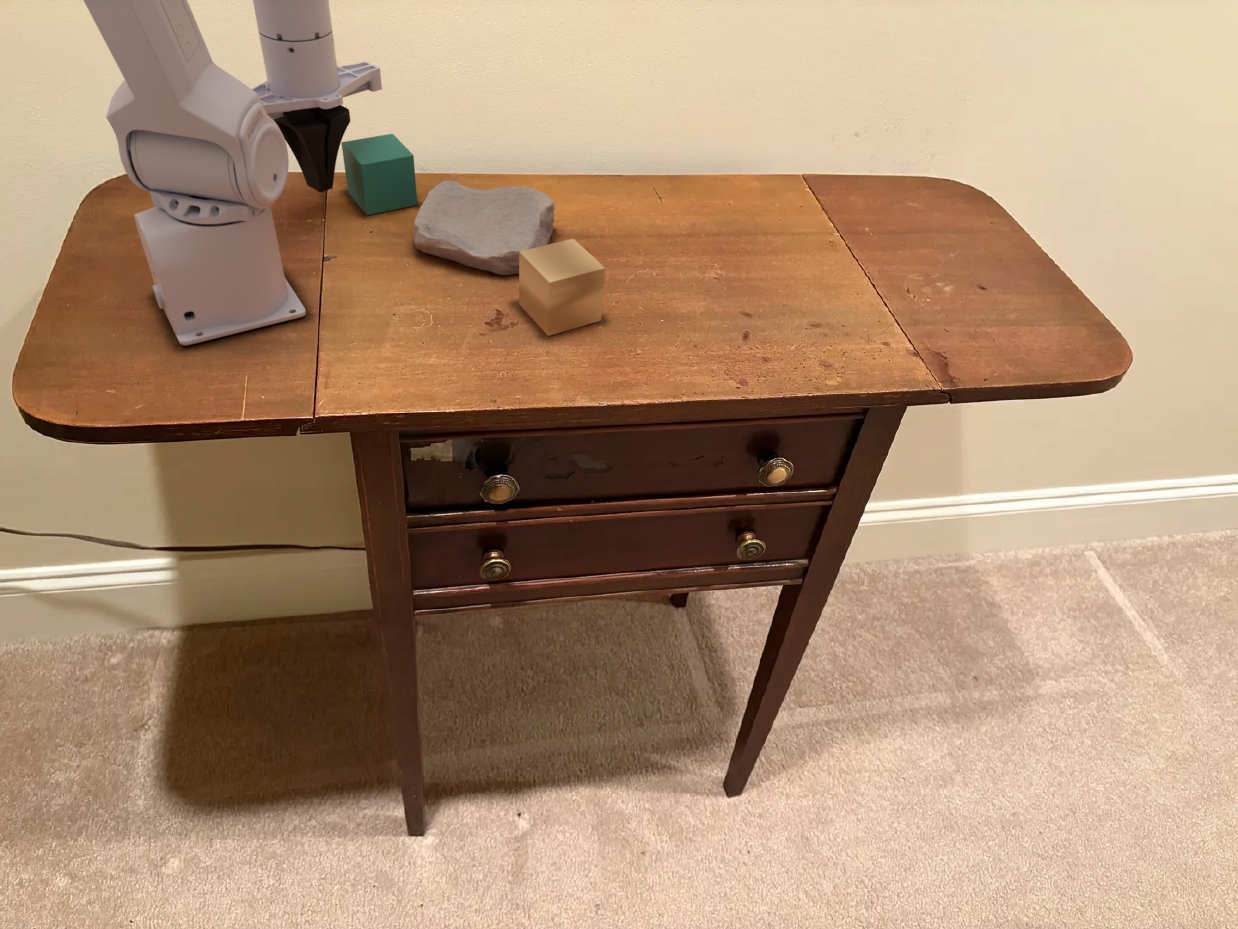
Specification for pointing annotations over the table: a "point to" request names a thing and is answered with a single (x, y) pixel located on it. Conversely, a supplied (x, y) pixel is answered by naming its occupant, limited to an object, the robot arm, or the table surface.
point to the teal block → (380, 173)
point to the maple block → (561, 286)
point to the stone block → (483, 225)
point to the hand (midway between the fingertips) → (320, 186)
